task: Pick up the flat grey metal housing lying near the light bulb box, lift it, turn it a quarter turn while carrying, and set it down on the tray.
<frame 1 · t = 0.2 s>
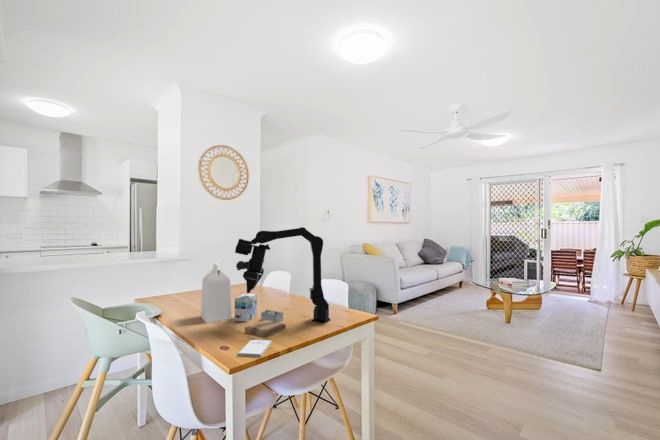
hand: (250, 291, 135), 15 cm above the table, tool pointing down, fingers open, 9 cm apart
milk: (215, 318, 143), on the table
light bulb box: (245, 318, 142), on the table
external hard drive: (255, 351, 106), on the table
housing: (272, 320, 139), on the table
tray: (265, 330, 125), on the table
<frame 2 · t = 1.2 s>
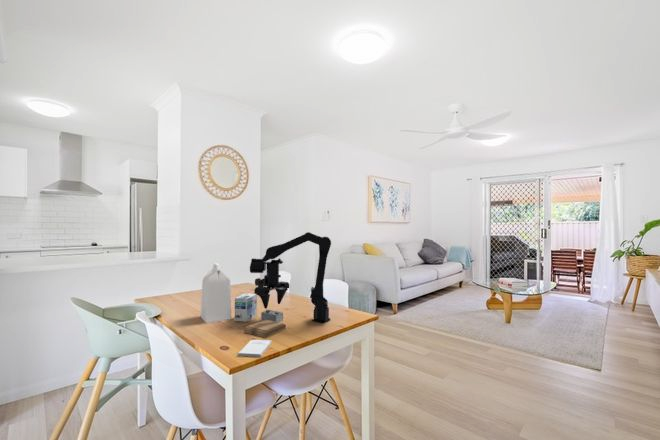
hand: (272, 306, 139), 7 cm above the table, tool pointing down, fingers open, 9 cm apart
nothing on the table moved.
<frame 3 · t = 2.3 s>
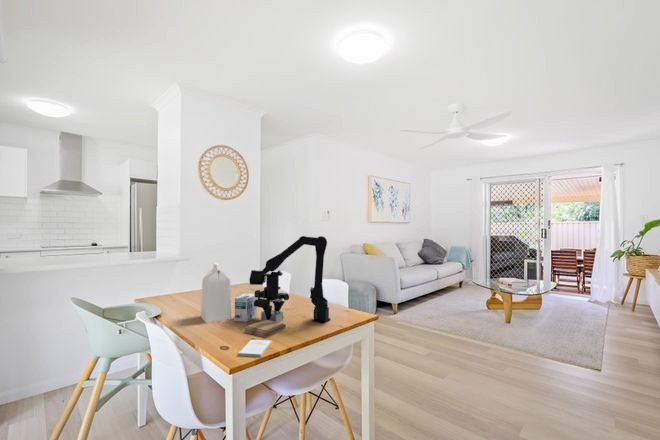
hand: (272, 318, 139), 1 cm above the table, tool pointing down, fingers closed on housing, 5 cm apart
housing: (272, 320, 139), on the table, touching gripper
everything else where it was.
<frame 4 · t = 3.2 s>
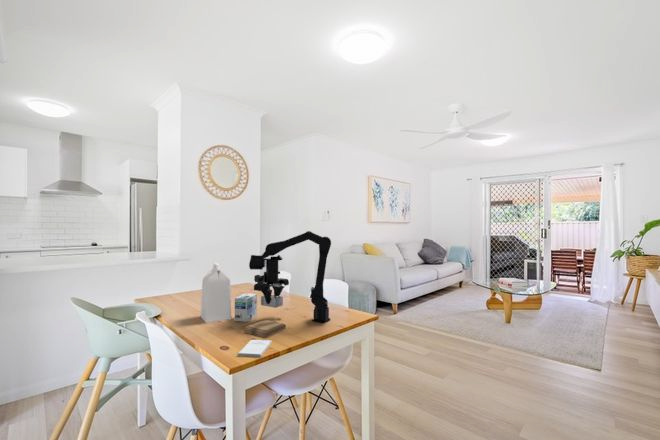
hand: (271, 302, 139), 8 cm above the table, tool pointing down, fingers closed on housing, 5 cm apart
housing: (271, 305, 139), point 7 cm above the table, touching gripper
everything else where it was.
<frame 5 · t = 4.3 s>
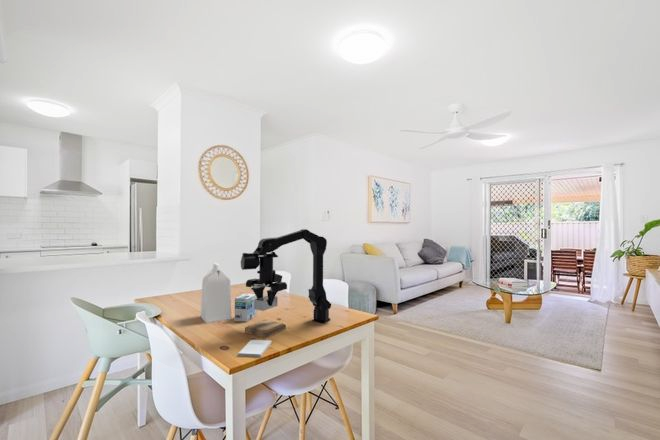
hand: (265, 304, 126), 11 cm above the table, tool pointing down, fingers closed on housing, 5 cm apart
housing: (265, 307, 126), point 10 cm above the table, touching gripper
everything else where it was.
when the fingers open (5 cm above the table, at t = 5.7 s): housing drops 1 cm, resting on tray.
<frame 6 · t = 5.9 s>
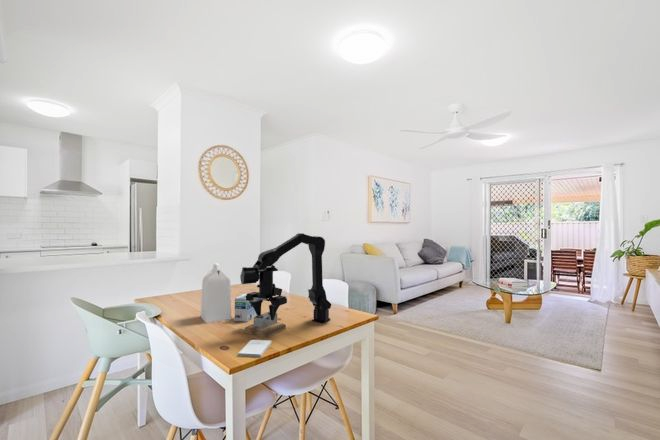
hand: (265, 318, 126), 5 cm above the table, tool pointing down, fingers open, 7 cm apart
housing: (265, 324, 126), point 2 cm above the table, touching tray
everything else where it was.
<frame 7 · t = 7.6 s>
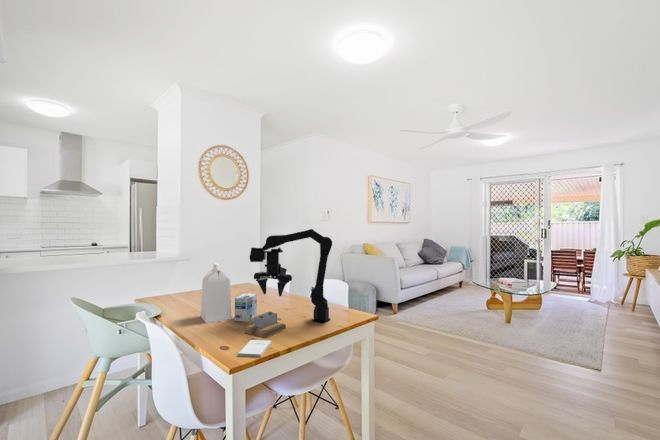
hand: (272, 295, 139), 12 cm above the table, tool pointing down, fingers open, 9 cm apart
nothing on the table moved.
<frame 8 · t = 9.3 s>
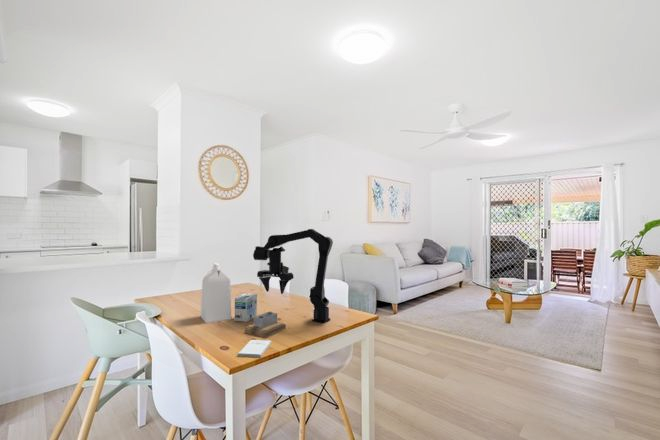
hand: (274, 292, 144), 12 cm above the table, tool pointing down, fingers open, 9 cm apart
nothing on the table moved.
at the end: housing inside the target area on the tray (0.1 cm from its centre), point 2.5 cm above the tray's base; housing tilted 0°; the gripper is holding nothing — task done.
